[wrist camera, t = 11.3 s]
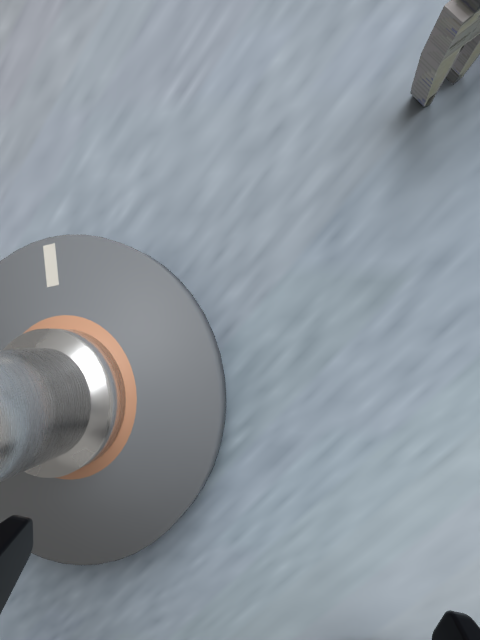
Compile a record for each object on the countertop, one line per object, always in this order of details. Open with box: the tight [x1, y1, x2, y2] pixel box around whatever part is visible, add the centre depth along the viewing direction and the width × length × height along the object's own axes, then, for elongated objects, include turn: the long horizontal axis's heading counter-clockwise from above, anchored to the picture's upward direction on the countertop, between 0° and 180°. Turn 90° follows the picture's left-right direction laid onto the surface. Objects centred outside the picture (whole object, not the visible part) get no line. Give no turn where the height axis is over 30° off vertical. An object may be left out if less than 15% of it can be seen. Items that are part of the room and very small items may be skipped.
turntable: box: [0, 235, 226, 565], centre depth 21 cm, size 18×18×1 cm
